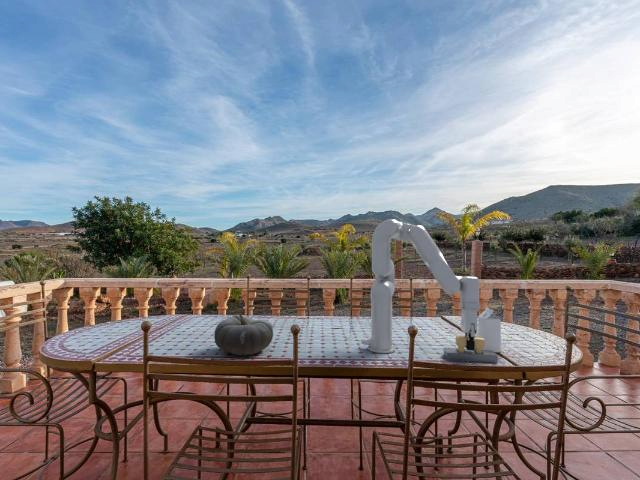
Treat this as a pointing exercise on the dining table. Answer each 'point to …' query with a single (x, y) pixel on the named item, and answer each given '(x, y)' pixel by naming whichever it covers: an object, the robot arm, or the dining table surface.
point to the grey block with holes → (470, 355)
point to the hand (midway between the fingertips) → (469, 348)
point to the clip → (462, 342)
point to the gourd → (243, 335)
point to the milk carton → (490, 330)
